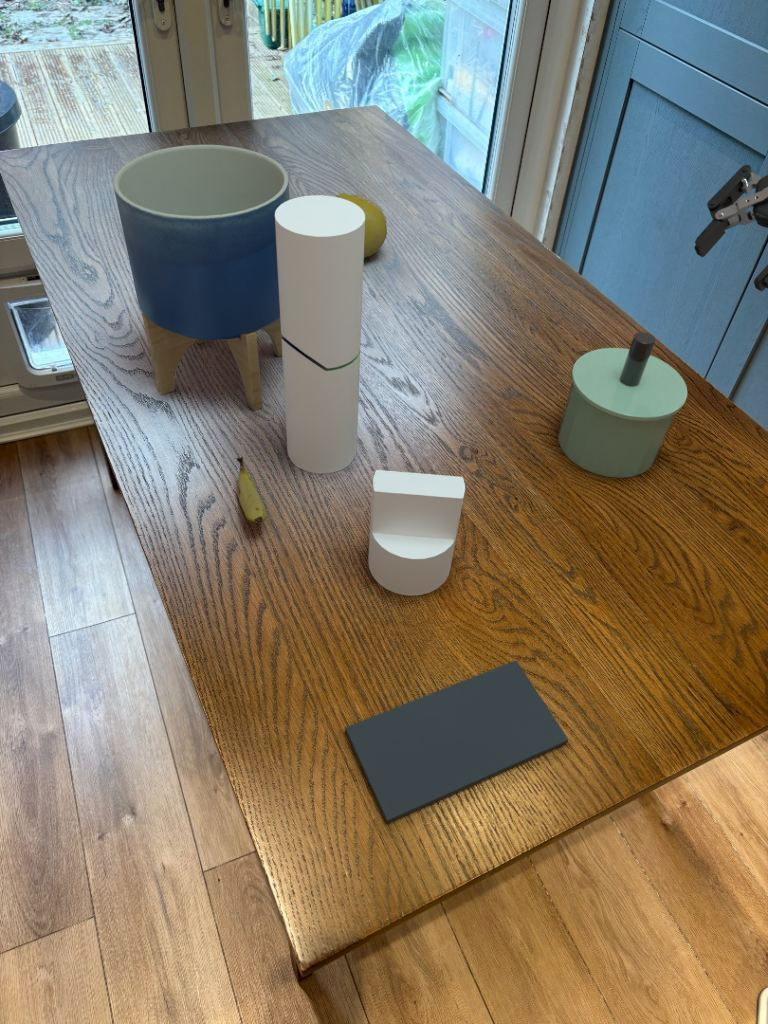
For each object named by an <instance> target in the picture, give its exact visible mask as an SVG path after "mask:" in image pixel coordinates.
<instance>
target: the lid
mask: <svg viewBox="0 0 768 1024" xmlns="http://www.w3.org/2000/svg"><path fill="white" fill-rule="evenodd" d="M655 343H656V337H655V336H654V335H653V334H651V333H649V332H647V331H646V332H645V331H637V332H636V333H635V334H633V338H632V341H631V343H630V346H629V348H623V347H603V348H598V349H594V350H591V351H588V352H586V353H584V354H583V355H581V356H580V357H579V358H577V360H576V361H575V363H574V364H573V366H572V370H571V383H572V382H573V385H574V387H575V389H576V391H577V392H578V393H579V395H580V396H581V397H582V398H583V399H584V400H586V401H587V402H588V403H589V404H591V405H592V406H594V407H596V408H597V409H599V410H601V411H603V412H605V413H608V414H610V415H613V416H616V417H620V418H624V419H629V420H636V421H653V420H660V419H664V418H667V417H670V416H672V415H674V414H676V415H677V413H678V412H679V411H680V410H682V408H683V407H684V405H685V403H686V401H687V399H688V388H687V387H688V386H687V384H686V382H685V380H684V379H683V377H682V375H681V374H680V373H679V372H678V371H677V370H676V369H675V368H674V367H672V366H671V365H670V364H668V363H667V362H665V361H663V360H662V359H660V358H658V357H656V356H654V355H651V354H652V351H653V348H654V346H655Z"/></svg>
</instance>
